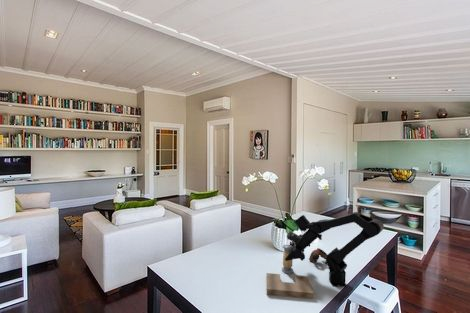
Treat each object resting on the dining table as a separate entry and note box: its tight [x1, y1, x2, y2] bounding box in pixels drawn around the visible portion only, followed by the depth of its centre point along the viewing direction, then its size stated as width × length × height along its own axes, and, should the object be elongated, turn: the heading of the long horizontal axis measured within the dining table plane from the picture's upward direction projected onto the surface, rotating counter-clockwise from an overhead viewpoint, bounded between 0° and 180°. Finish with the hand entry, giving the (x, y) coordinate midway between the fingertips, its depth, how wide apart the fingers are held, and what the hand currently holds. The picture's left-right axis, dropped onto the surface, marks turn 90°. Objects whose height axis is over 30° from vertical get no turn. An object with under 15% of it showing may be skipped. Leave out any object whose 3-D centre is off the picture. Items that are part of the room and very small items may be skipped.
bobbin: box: [281, 244, 294, 274], centre depth 130 cm, size 6×6×13 cm
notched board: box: [265, 272, 315, 300], centre depth 114 cm, size 20×14×2 cm
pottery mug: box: [308, 247, 328, 265], centre depth 140 cm, size 12×10×8 cm
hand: (285, 257), depth 130 cm, fingers closed on bobbin, 5 cm apart
